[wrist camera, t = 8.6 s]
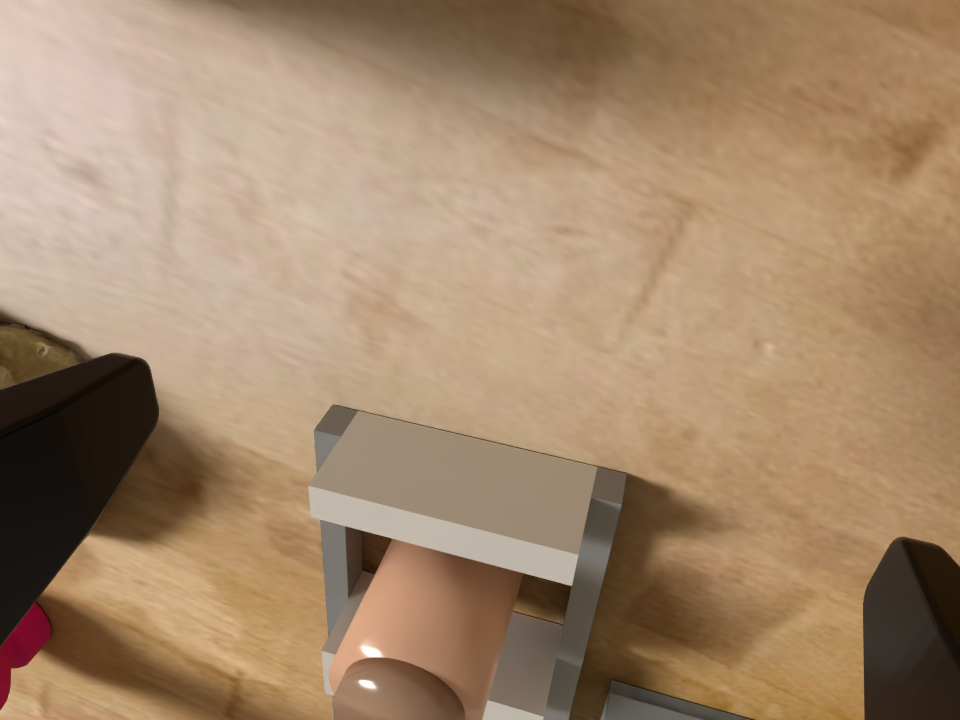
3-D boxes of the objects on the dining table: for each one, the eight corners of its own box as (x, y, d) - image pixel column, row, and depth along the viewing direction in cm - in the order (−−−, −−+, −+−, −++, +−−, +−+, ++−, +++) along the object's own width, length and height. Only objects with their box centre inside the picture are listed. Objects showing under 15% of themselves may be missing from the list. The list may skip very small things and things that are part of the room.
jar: (536, 505, 27) (480, 700, 21) (522, 595, 30) (468, 790, 24) (405, 473, 28) (313, 650, 22) (403, 563, 31) (321, 742, 25)
